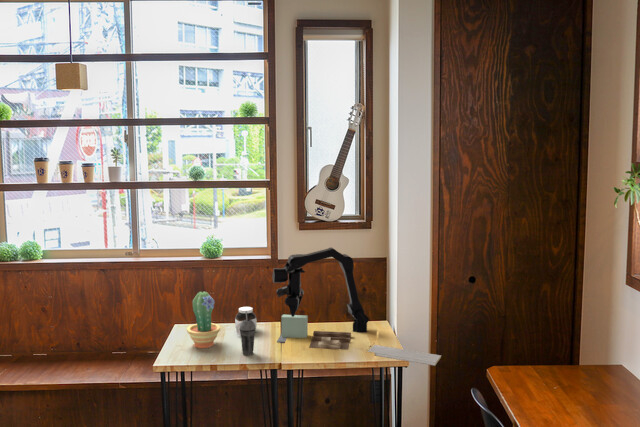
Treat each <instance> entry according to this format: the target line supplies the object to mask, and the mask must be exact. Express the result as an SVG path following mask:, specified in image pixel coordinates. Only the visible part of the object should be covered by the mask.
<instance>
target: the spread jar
mask: <svg viewBox="0 0 640 427" xmlns="http://www.w3.org/2000/svg"><path fill="white" fill-rule="evenodd" d="M253 309H254V308H253V307H251V306H242V307H239V308H238V312H237V314H236V315H235V319H234V320H235V321H234V322H235V323H234V324H235V329H236V330H235V331H236V333H237V335H239V336H240V337H241V334H240V330H239V329H240V324H241V323H242V322H243V321H244V320H246V311H247V319H249V320H252V321H253V322H254V324H255V327H256V328H257V324H258V323H257V316H256V314H255V313H254V312H253V311H254V310H253Z"/></svg>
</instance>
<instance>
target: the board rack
mask: <svg viewBox="0 0 640 427" xmlns="http://www.w3.org/2000/svg"><path fill="white" fill-rule="evenodd" d="M322 337H331V340H339V342H340V343H341V345H340V348H328V347H318V343H319V342H321V339H322ZM351 338H352V332H350V331H348V332H347V331H324V330H323V331H322V330H313V334H312V335H311V341H310V343H309V345H308V349H328V350H346V351H348V350H349V349H350V344H351Z"/></svg>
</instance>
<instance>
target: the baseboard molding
mask: <svg viewBox="0 0 640 427" xmlns="http://www.w3.org/2000/svg"><path fill="white" fill-rule="evenodd" d="M368 349H369V350H368ZM368 349H366V352H368V353H374V356H375V357H381V358H386V359H392V358H393V360H398V361H399V360H400V361H406V362H409V363H410V362H411V363H416V364H421V365H429V366H435V367H436V365H437V363H438V362H439V361H440V360H441V358H442V354H441V355H439V354H434V353H428V352H422V351H416V350H410V349H403V348H397V347H389V346H383V345H378V344H375V343H373V345H370V346H369V348H368Z"/></svg>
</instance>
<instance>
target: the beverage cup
mask: <svg viewBox="0 0 640 427" xmlns="http://www.w3.org/2000/svg"><path fill="white" fill-rule="evenodd" d="M239 330H240V334H241V336H240V340H241V352H242V355H243V356H247V357H248V356H252V355H253V354H254V347H255V346H254V345H255V335H256V330H257V326H256V327H255V324H254V322H253V321H252V320H249V319H247V311H246V320H244V321H243V322H242V323H241V324H240V329H239Z"/></svg>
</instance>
